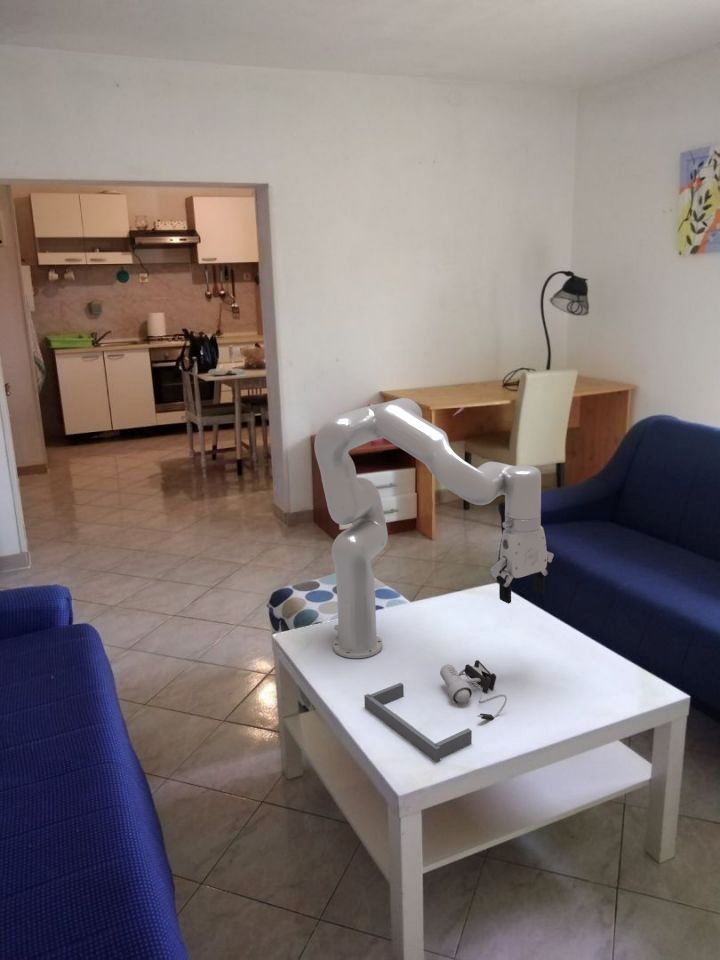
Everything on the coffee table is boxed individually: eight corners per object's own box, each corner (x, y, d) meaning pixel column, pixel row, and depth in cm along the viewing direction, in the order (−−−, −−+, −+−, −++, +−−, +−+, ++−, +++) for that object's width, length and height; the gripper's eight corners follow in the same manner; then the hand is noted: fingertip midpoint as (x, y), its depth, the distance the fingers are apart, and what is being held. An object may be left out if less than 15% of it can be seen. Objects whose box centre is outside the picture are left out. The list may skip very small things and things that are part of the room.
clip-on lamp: (515, 727, 155) (478, 671, 171) (522, 704, 153) (483, 649, 168) (466, 734, 151) (432, 676, 167) (472, 711, 149) (437, 654, 164)
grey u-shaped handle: (364, 707, 159) (364, 695, 158) (399, 693, 164) (399, 681, 163) (436, 763, 139) (436, 749, 139) (473, 745, 144) (473, 731, 144)
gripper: (503, 534, 151) (503, 611, 155) (564, 519, 159) (563, 592, 164) (480, 526, 158) (480, 599, 162) (540, 511, 166) (539, 582, 170)
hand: (522, 596), depth 163 cm, fingers open, 9 cm apart
